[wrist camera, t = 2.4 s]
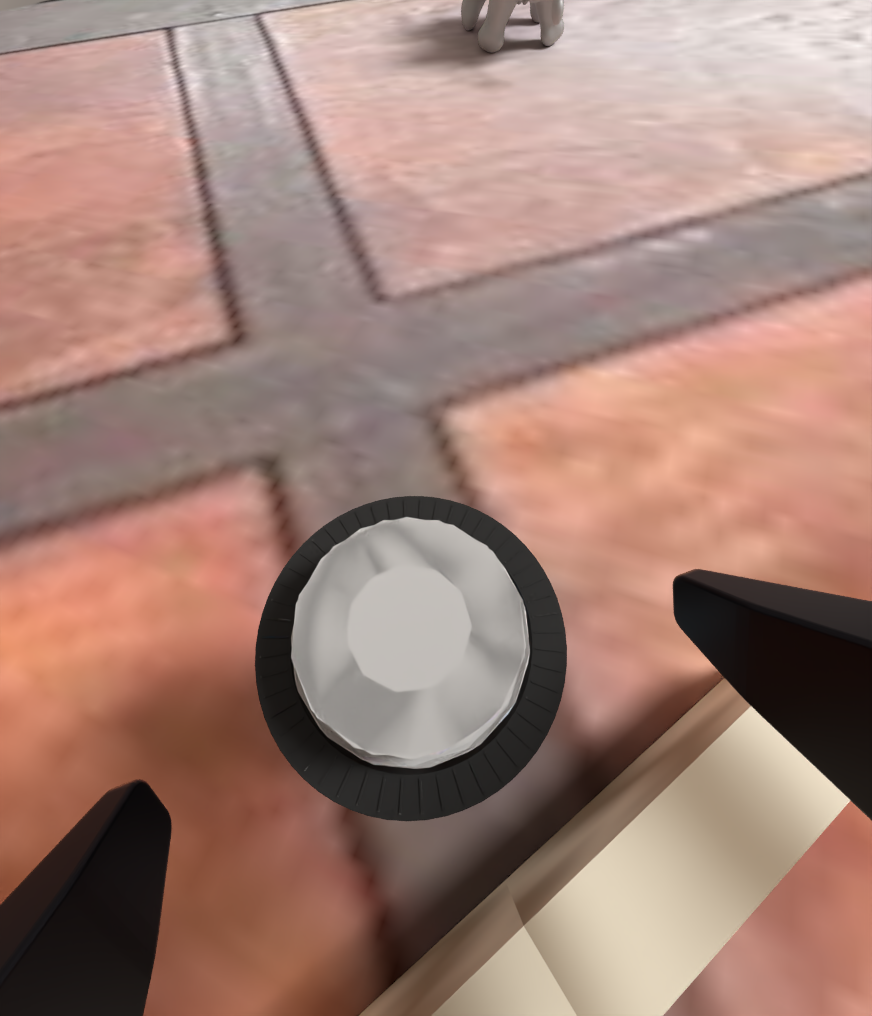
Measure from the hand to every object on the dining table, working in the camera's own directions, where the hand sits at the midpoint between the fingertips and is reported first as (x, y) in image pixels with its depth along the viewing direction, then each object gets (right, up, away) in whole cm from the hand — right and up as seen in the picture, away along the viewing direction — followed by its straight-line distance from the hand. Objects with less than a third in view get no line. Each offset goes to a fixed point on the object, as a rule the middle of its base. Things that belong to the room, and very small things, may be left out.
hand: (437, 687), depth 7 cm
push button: (-1, -2, +9) cm, 9 cm away
